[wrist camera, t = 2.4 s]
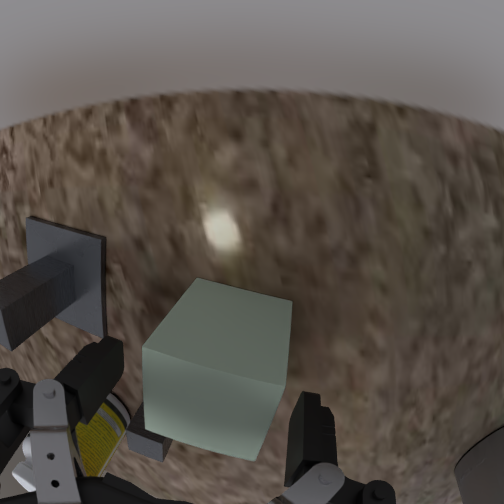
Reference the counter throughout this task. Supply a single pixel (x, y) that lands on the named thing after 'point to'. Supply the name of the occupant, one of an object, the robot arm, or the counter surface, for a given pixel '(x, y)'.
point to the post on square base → (55, 283)
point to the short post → (146, 438)
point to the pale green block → (217, 368)
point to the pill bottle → (87, 442)
